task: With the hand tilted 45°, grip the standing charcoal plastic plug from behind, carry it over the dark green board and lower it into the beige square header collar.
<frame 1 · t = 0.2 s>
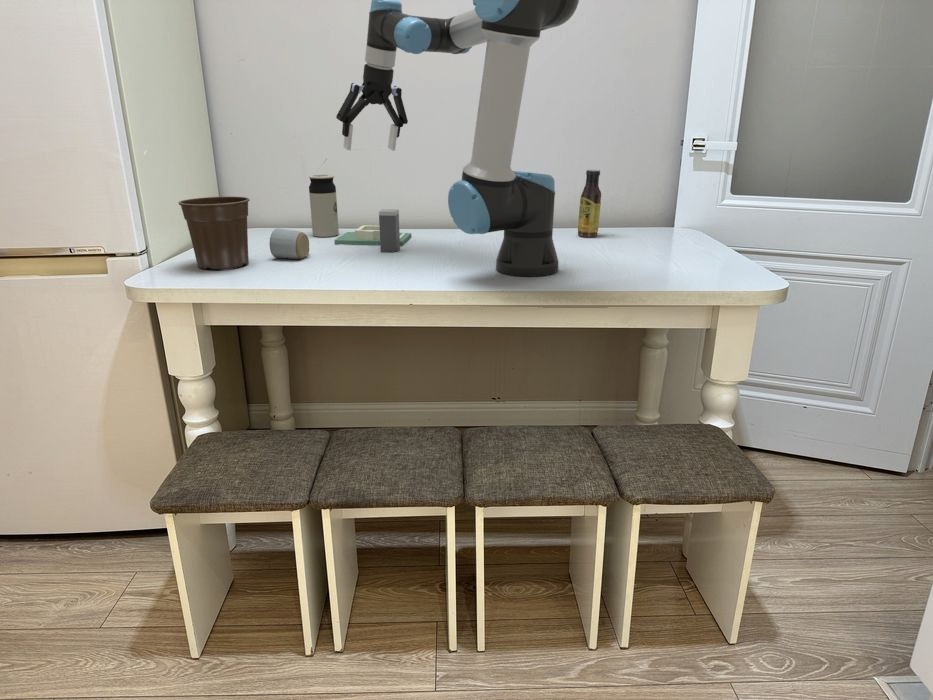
hand: (369, 149, 175), 27 cm above the table, tool tilted 15°, fingers open, 13 cm apart
sauce bottle: (587, 236, 200), on the table
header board: (374, 240, 193), on the table
ceramic mug: (292, 258, 171), on the table
travel mug: (325, 235, 201), on the table
plant pot: (223, 265, 162), on the table
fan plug: (390, 250, 179), on the table
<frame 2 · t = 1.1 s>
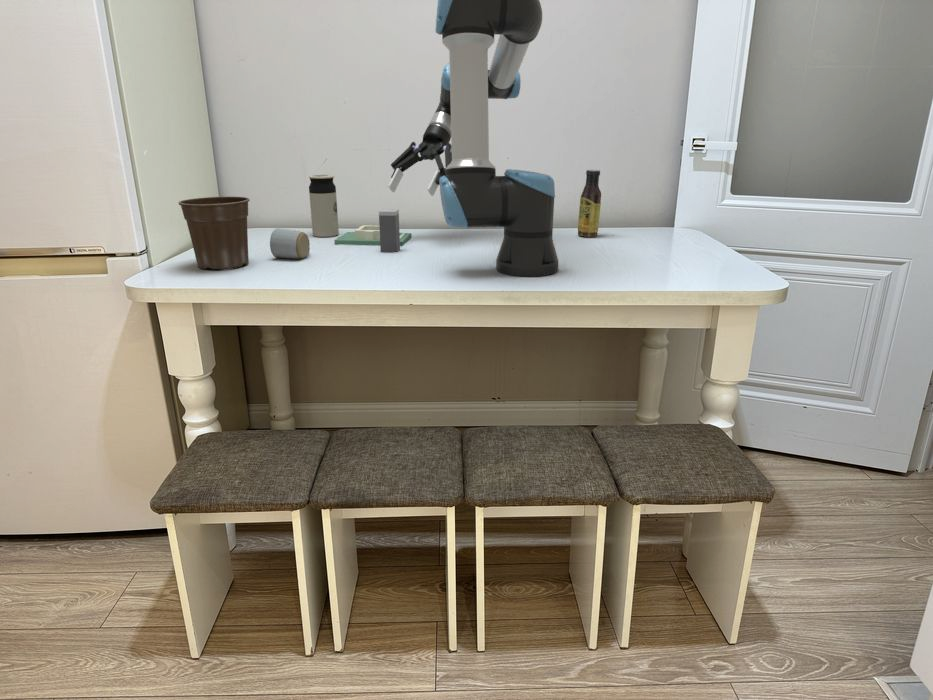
hand: (410, 190, 182), 15 cm above the table, tool tilted 45°, fingers open, 13 cm apart
nothing on the table moved.
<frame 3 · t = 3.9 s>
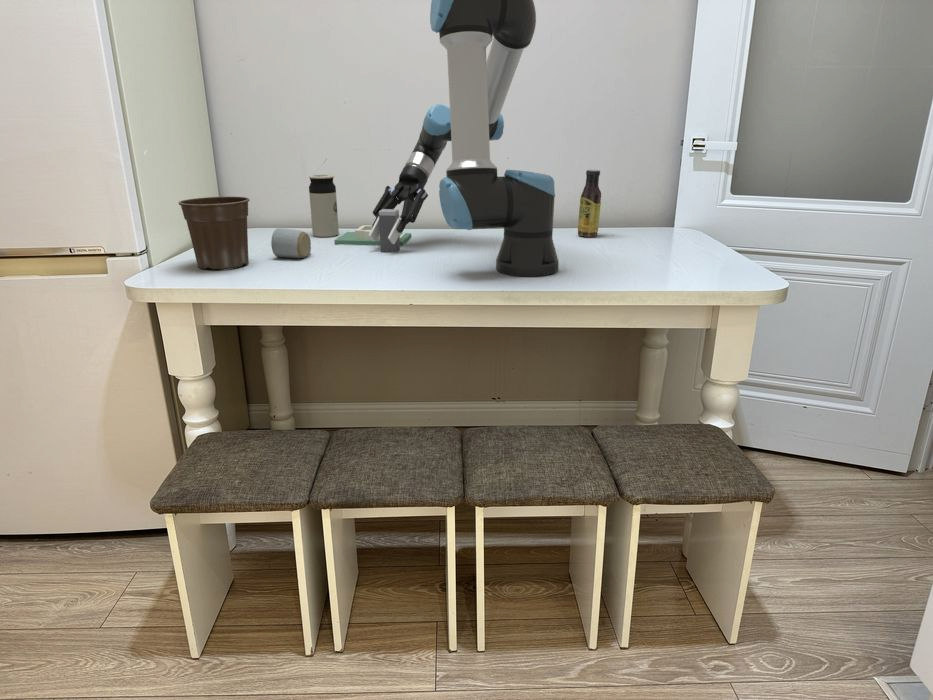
hand: (381, 239, 175), 4 cm above the table, tool tilted 45°, fingers closed on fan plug, 6 cm apart
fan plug: (390, 250, 179), on the table, touching gripper
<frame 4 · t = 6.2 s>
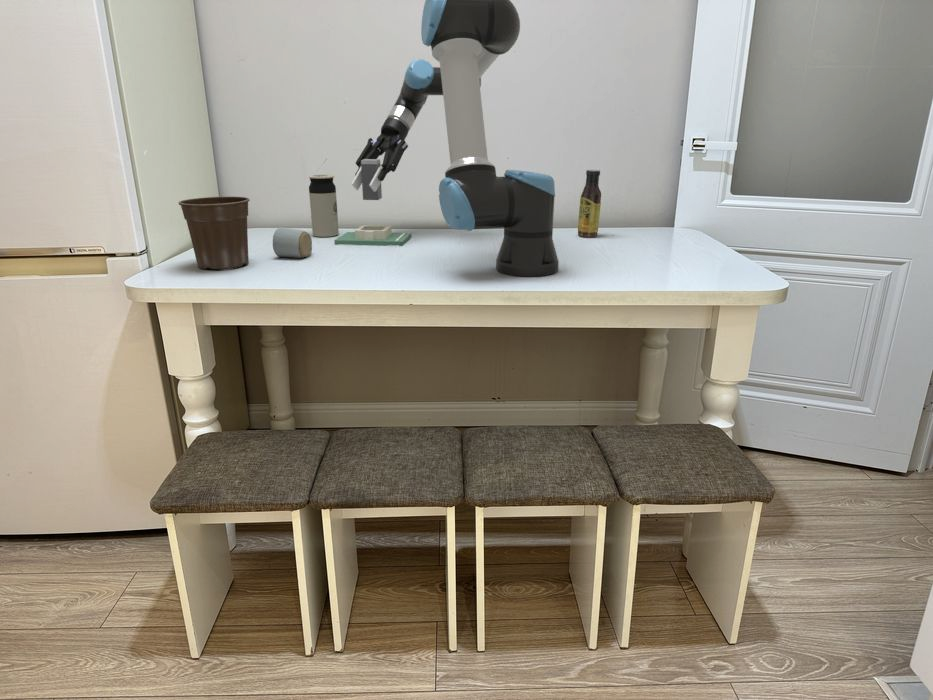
hand: (363, 187, 184), 16 cm above the table, tool tilted 45°, fingers closed on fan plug, 6 cm apart
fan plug: (372, 198, 189), point 12 cm above the table, touching gripper
when the fingers open (6 cm above the table, at t = 8.7 s): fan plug drops 1 cm, resting on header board.
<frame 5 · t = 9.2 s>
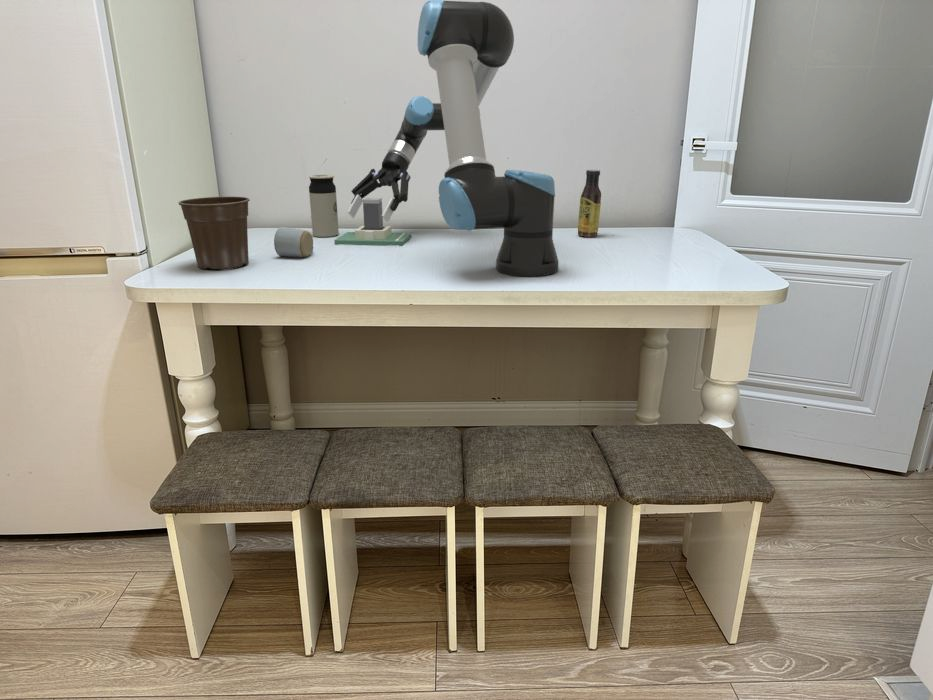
hand: (367, 216, 188), 7 cm above the table, tool tilted 45°, fingers open, 12 cm apart
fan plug: (374, 236, 193), point 1 cm above the table, touching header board
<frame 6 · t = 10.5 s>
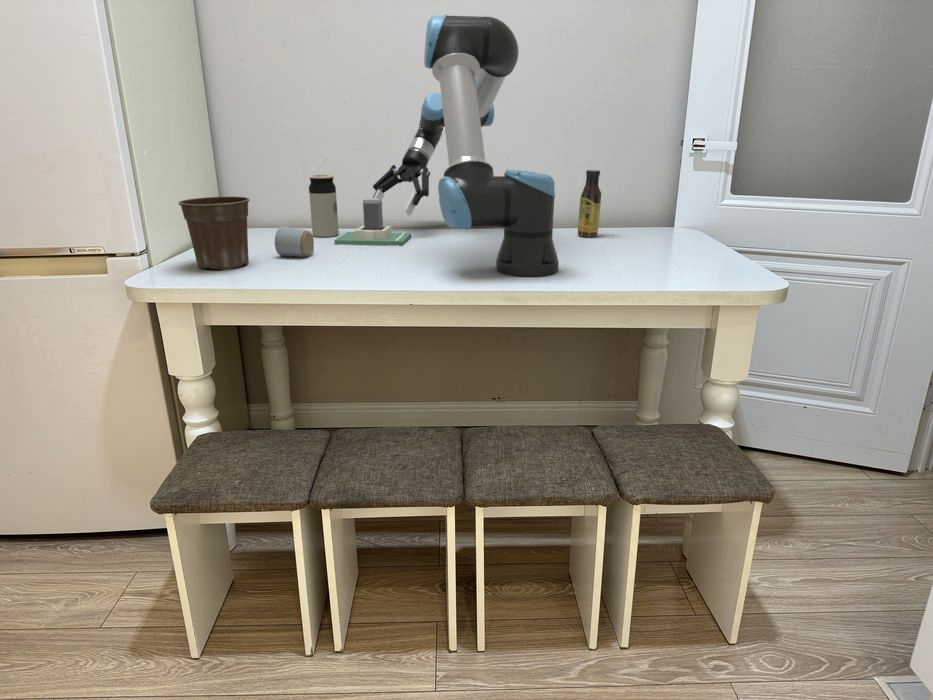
hand: (389, 210, 197), 8 cm above the table, tool tilted 45°, fingers open, 13 cm apart
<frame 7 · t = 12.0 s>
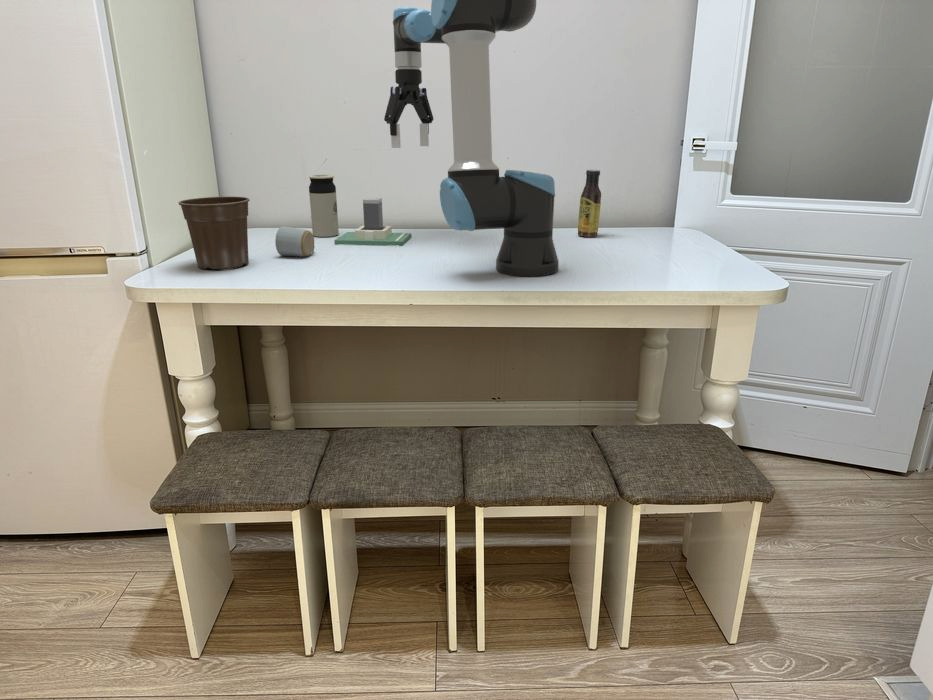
hand: (410, 147, 191), 26 cm above the table, tool pointing down, fingers open, 13 cm apart
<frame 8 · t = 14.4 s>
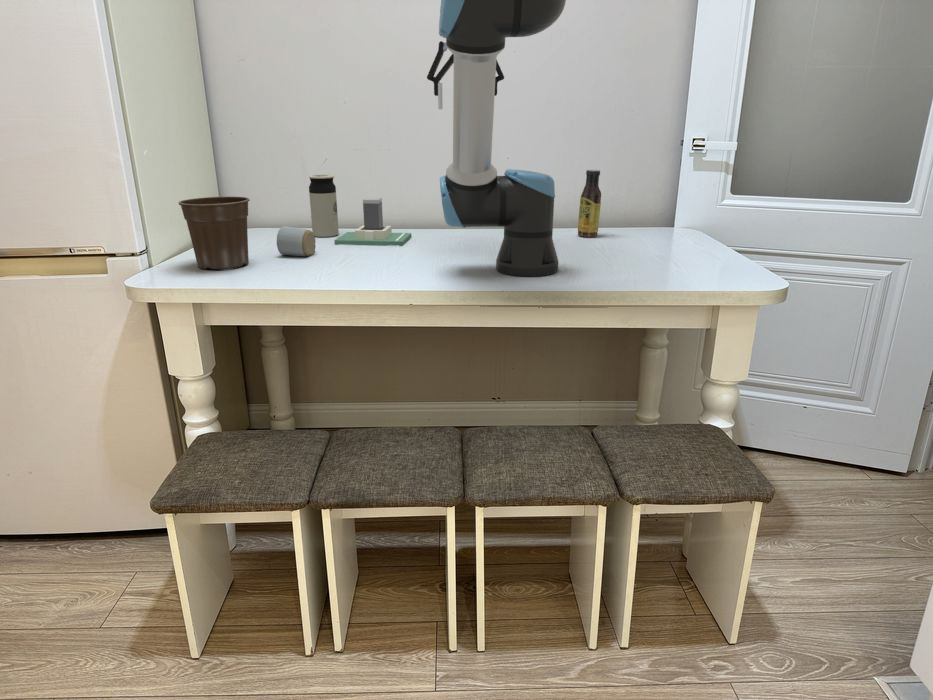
hand: (465, 109, 173), 37 cm above the table, tool pointing down, fingers open, 13 cm apart
at the end: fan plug 0.1 cm off-centre on the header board, point 1.2 cm above the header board's base; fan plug tilted 0°; the gripper is holding nothing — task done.
